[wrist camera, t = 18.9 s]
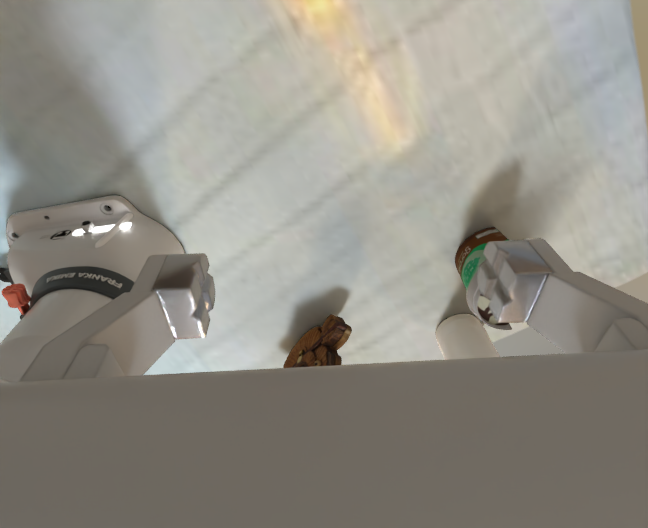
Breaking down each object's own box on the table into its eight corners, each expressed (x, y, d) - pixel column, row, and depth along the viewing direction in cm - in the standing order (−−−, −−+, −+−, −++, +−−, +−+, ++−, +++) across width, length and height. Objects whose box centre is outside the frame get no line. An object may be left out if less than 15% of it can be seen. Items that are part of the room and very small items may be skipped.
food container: (452, 221, 53) (480, 261, 45) (496, 217, 53) (532, 256, 45) (443, 290, 60) (466, 336, 52) (481, 287, 60) (511, 332, 52)
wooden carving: (326, 298, 59) (331, 345, 51) (350, 309, 61) (358, 357, 53) (275, 361, 67) (272, 411, 59) (297, 369, 68) (297, 419, 60)
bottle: (466, 304, 62) (578, 505, 37) (489, 329, 65) (607, 527, 40) (425, 330, 65) (504, 533, 40) (450, 352, 68) (537, 551, 43)
